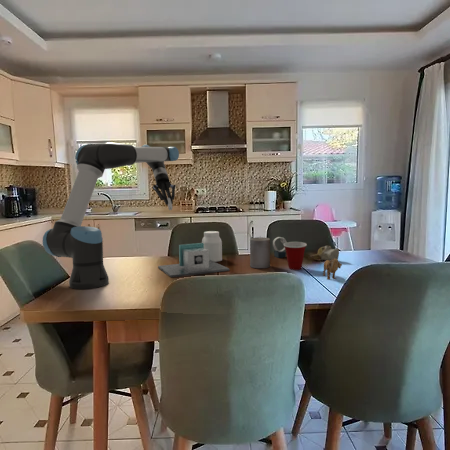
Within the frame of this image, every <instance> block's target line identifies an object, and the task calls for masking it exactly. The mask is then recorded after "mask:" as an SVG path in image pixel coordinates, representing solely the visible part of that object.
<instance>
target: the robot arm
mask: <svg viewBox="0 0 450 450" xmlns="http://www.w3.org/2000/svg"><path fill="white" fill-rule="evenodd" d="M74 157H75V163H76V169H77V170H78V173H77V175H76V177H75V179H74V180H75V181H74V182H73V186H72V188H71V190H70V192H69V193H70V194H69V197H68V198H67V202H66V204H65V206H64V209H63V212H62V214H61V217H60V219H58V220H56V221H54V224H53V227H52V228H50V229H48V230H46V231H45V232H44V234H43V236H42V247H43V248H44V251H45V252H46V253H47V254H49V255H50V256H53V257H57V258H71V259H72V270H71V273H70V276H69V281H68V285H69V286H68V287H69V288H71V289H74V290H91V289H96V288H101V287H104V286H106V285H108V284H109V283H110V281H109V280H110V279H109V275H108V272H107V270H106V268H105V264H104V248H103V247H104V245H103V242H104V241H103V233H102V230H101V229H100V228H97V227H94V226H83V225H82V223H83V221H84V218H85V216H86V212H87V210H88V207H89V203H90V201H91V199H92V197H93V193H94V190H95V188H96V185H97V183H98V179H100V178H103V175H104V173H105V170H110V169H116V168H117V169H118V168H121V167H125V166H127V167H128V166H132V165H134V164H137V163H138V164H139V163H142V164H143V163H145V164H147V165H148V167H150V168H151V170H152V173H153V176H154V177H153V178H154V181H155V184H153V186H152V190H153V191H155V193H156V194H157V196H158V198H159V199H160V201H163V202H164V204H165V205H166V206H167V207H168V211H172V210H173V204H174V202H173V201H174V200H175V197H176V191H175V190H176V186H177V185H176V184H172V183H171V182H170V178H169V175H168V171H167V168H166V165H165V162H174V161H178V159H179V157H180V152H179V149H178V148H177V146H150V145H149V144H143V145H142V146H133V145H132V144H129V143H128V144H126V143H117V142H102V143H100V142H99V143H98V142H97V143H87V144H83V145H81V146H79V148H78V149H77V150H76V152H75V156H74ZM170 188H171V190H170Z"/></svg>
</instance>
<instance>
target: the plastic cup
mask: <svg viewBox="0 0 450 450" xmlns="http://www.w3.org/2000/svg"><path fill="white" fill-rule="evenodd" d="M307 246H308V245H307V242H304V241H303V242H302V241H288V242H287V243H284V245H283V248H284V247H285V250H284V251H285V252H286V260H287V264H288V269H289V270H292V269H293V270H294V271H296V270H302V268H303V262H304V257H305V256H304V255H305V252H306V248H307Z"/></svg>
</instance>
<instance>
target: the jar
mask: <svg viewBox="0 0 450 450" xmlns="http://www.w3.org/2000/svg"><path fill="white" fill-rule="evenodd" d="M201 243H204V249H207V250H209V261H210V260H211V261H214V262H216V263H218V262H221V261H223V246H222V245H223V241H222V238H221V237H220V231H215V230H209V231H204V232H203V237H202V239H201Z"/></svg>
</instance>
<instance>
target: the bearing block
mask: <svg viewBox="0 0 450 450" xmlns="http://www.w3.org/2000/svg"><path fill="white" fill-rule="evenodd" d="M182 254H183V266H180V265H179V263H173V264H172V263H171V264H165V265H163V264H162V265H158V267H157V268H158V269H159V270H160V271H161V272H163V273H164V274H166V275H167V276H168V277H170V278H171V279H172V278H179V277H189V276H195V275H204V274H205V275H206V274H213V273H220V272H230V268H229V267H227V266H224V265H222V264H220V263H218V262H214V261H211V260H210V261H209V250H207V249H204V248H193V249H182ZM194 256H199V257H202V258H203V263H201V264H199V263H197V262H195V261H194Z"/></svg>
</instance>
